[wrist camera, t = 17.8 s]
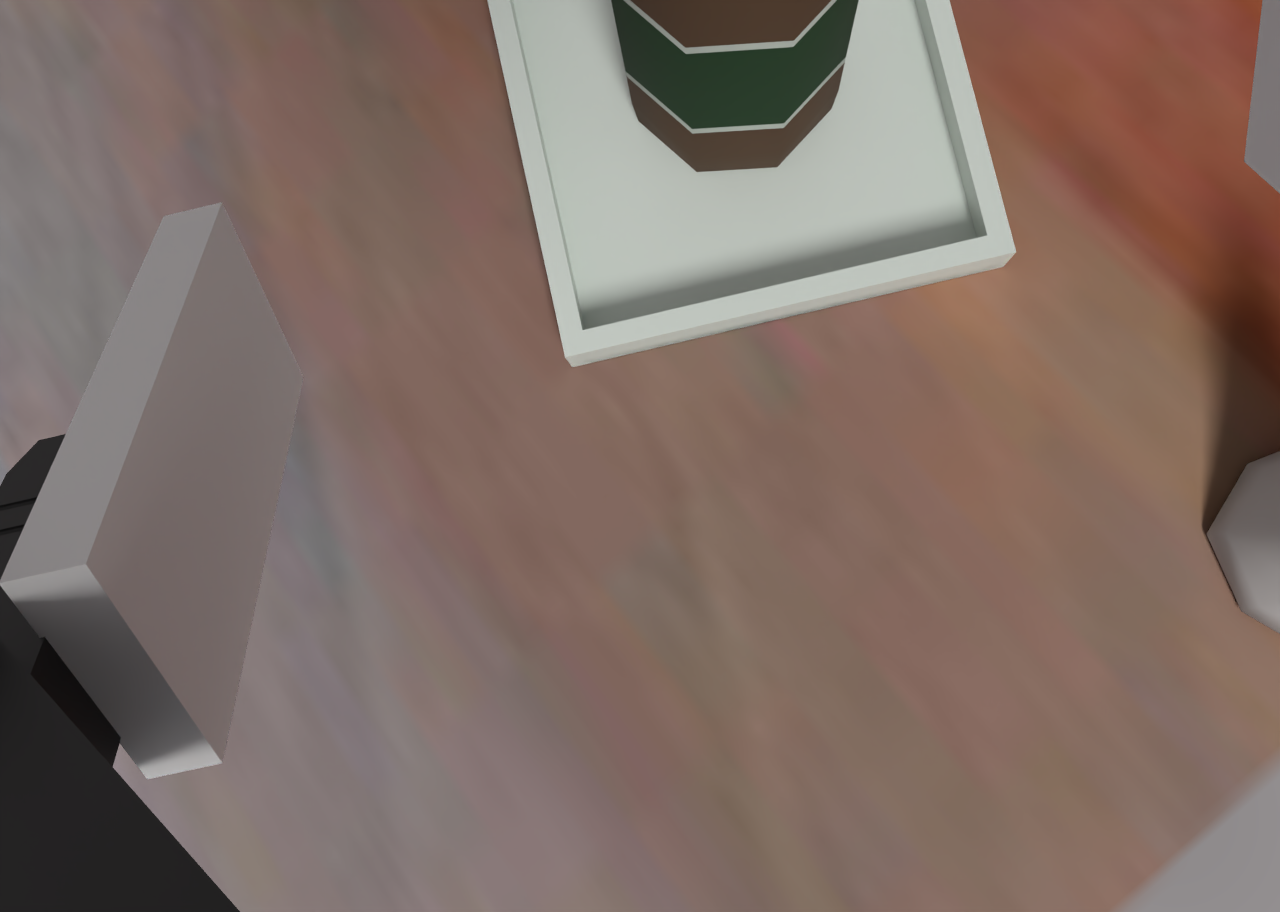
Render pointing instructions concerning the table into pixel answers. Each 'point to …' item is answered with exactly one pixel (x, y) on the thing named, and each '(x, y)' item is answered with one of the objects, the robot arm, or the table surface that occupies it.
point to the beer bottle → (733, 74)
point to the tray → (746, 184)
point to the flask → (1252, 540)
